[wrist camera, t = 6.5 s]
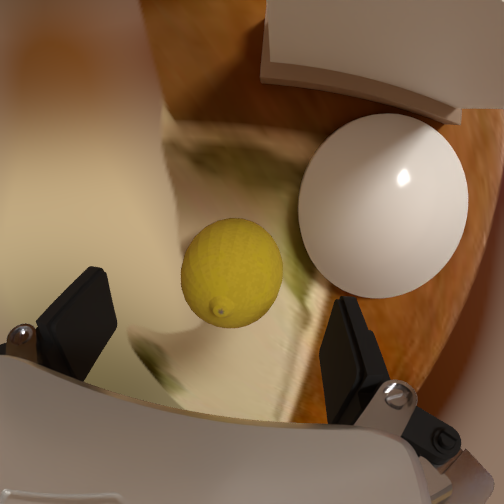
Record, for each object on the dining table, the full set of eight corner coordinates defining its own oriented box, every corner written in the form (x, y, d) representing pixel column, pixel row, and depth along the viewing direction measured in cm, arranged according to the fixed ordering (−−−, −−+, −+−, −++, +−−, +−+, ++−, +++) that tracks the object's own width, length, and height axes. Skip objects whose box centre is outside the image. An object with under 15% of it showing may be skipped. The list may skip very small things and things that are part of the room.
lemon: (273, 284, 20) (270, 364, 13) (198, 270, 21) (162, 343, 13) (288, 211, 18) (298, 267, 11) (205, 197, 18) (160, 243, 11)
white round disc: (433, 295, 20) (438, 301, 19) (285, 283, 20) (286, 291, 19) (473, 142, 15) (480, 143, 14) (309, 96, 15) (311, 94, 14)
